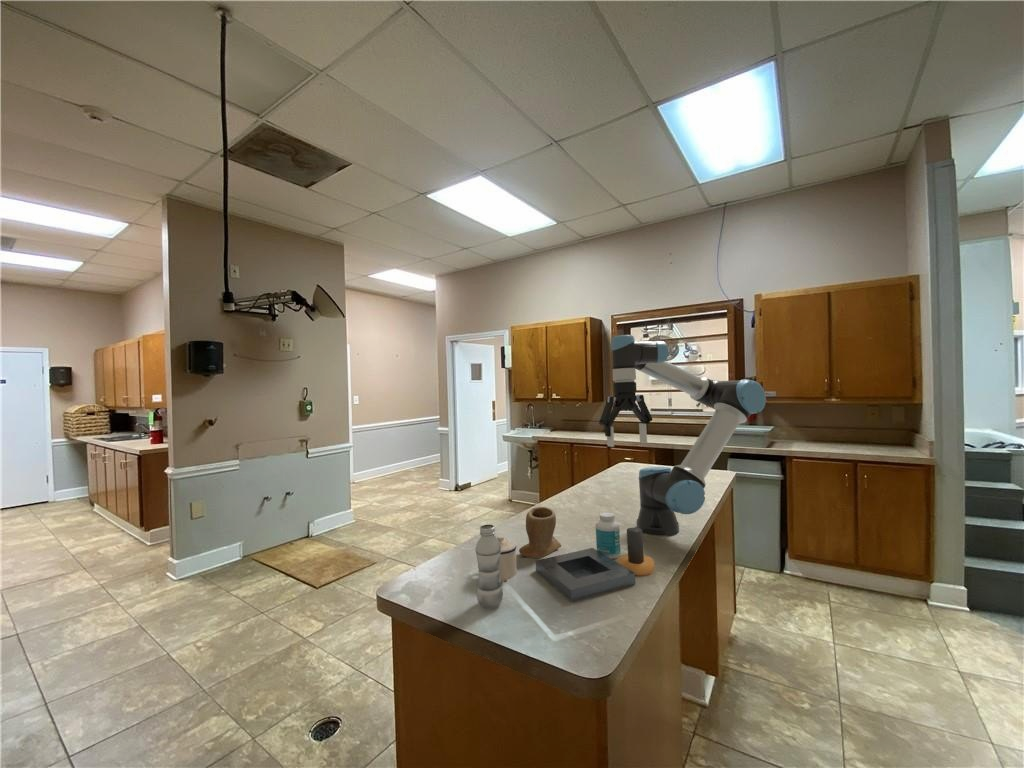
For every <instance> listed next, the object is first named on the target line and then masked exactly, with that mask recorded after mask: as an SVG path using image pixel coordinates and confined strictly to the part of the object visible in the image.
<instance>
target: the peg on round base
mask: <svg viewBox="0 0 1024 768" xmlns="http://www.w3.org/2000/svg"><path fill="white" fill-rule="evenodd" d="M626 539H627V540H626V542H627V543H626V544H627V554H623V555H620V556H619V557H617V558H618V559H617V563H619V564H621V565H622V566H624V567H626V568H627V569H629V570H631V571H632V572H634V573H635V576H647V575H651V574H653V573H654V572H655V571H656V570H655V560H654V559H653V558H651V557H650V556H648V555H645V554H644V540H643V539H644V538H643V532H642V529H640V528H637V527H628V528H626Z"/></svg>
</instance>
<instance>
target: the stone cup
mask: <svg viewBox="0 0 1024 768" xmlns="http://www.w3.org/2000/svg"><path fill="white" fill-rule="evenodd" d="M526 513H527V514H526V516H525V531H526V534H527V538H528V543H527V544H524V545H523V546H521V547H519V550H518V552H519V554H520V555H522V556H524V557H525V558H529V559H530V558H531V559H540V558H544V557H546V556H548V555H550V554H552V553H553V552H555V551H556V550H558V549H559V548H561V547H562V544H561V542H560V541H558V539H556V538H555V536H554V533H555V529H556V525H557V516H556V513H555V510H553V509H552V508H549V507H547V506H536V507H533V508H531V509H530V510H529V511H527V512H526Z"/></svg>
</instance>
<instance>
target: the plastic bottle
mask: <svg viewBox="0 0 1024 768" xmlns="http://www.w3.org/2000/svg"><path fill="white" fill-rule="evenodd" d="M495 529H496V528H495V525H493V524H487V523H486V524H483V525H480V526H479V535H480V538H479V539H478V540H477V542H476V545H475V555H476V561H477V568H478V578H477V579H478V581H477V582H478V583H477V590H476V599H477V604H479V606H480V607H481V608H484V609H493V608H496V607H498V606H499V605H500V604H501V603H502V601H503V597H504V592H503V591H504V590H503V587H502V582H501V580H500V554H501V545H500V542H499V541H498V539H497V536H495V534H496V530H495Z"/></svg>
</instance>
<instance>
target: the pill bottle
mask: <svg viewBox="0 0 1024 768" xmlns="http://www.w3.org/2000/svg"><path fill="white" fill-rule="evenodd" d="M615 517H616V516H615V514H614V513H612V512H601V513H599V520H598V521H596V522H595V541H596V550H597V551H599V552H600V553H602V554H604V555H605V556H607V557H609V558H611V559H612V560H614V559H617V558H619V557H620V556H622V555H621V539H620V538H621V534H620V524H619V523H618V521H616V520H615Z"/></svg>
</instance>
